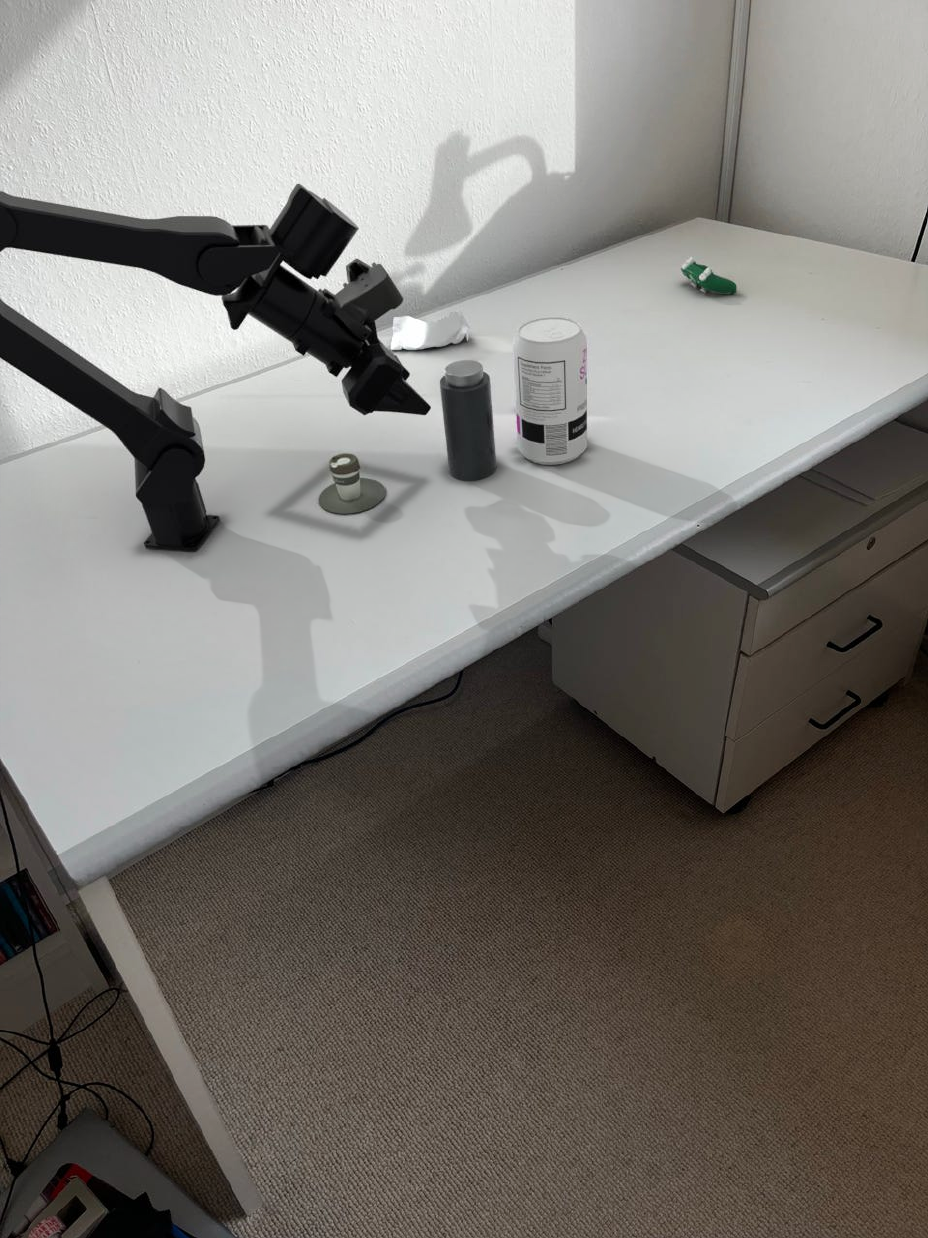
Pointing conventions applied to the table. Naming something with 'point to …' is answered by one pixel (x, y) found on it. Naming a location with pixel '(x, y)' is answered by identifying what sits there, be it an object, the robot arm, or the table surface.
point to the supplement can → (551, 389)
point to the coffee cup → (350, 488)
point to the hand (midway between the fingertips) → (417, 393)
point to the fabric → (428, 332)
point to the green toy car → (707, 278)
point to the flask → (468, 420)
